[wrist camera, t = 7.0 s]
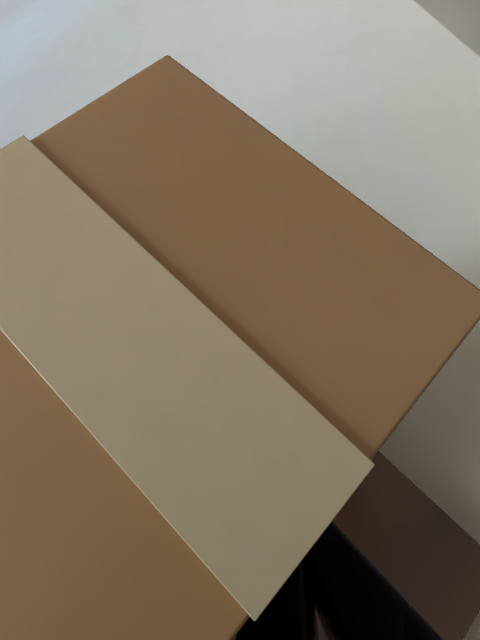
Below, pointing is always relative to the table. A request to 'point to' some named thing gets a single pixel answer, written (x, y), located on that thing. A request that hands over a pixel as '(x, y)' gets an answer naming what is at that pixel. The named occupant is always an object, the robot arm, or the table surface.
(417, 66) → the table surface
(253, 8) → the table surface
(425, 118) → the table surface
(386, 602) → the robot arm
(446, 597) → the ramp
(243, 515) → the carton
